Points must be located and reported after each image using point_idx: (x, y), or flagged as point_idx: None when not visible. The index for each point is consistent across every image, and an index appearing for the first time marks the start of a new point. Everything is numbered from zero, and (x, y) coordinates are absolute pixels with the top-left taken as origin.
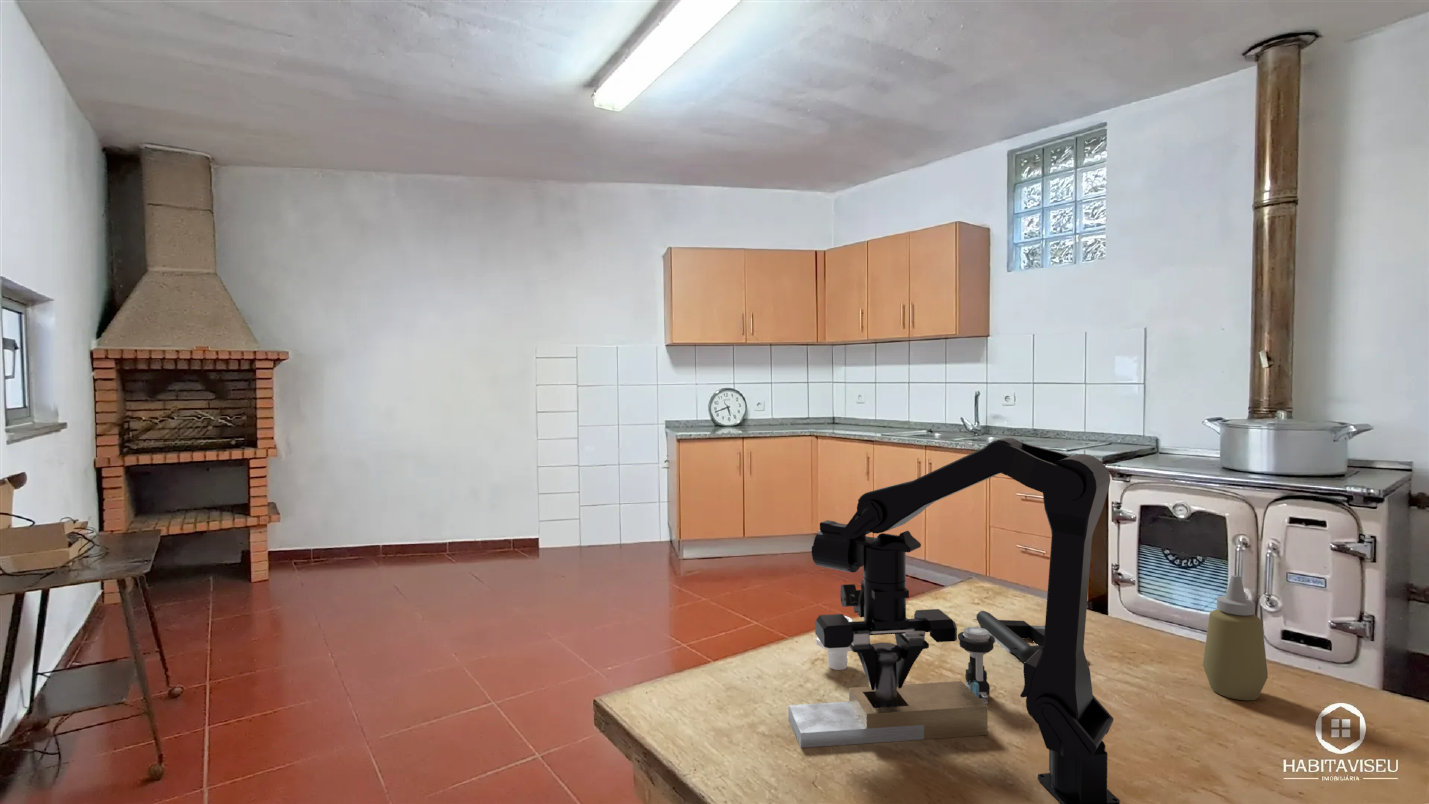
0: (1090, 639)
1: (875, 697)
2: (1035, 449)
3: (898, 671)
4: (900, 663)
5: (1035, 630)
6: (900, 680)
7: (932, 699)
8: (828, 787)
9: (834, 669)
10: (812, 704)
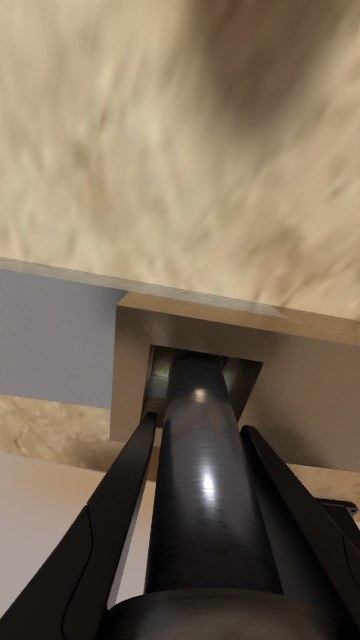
0: None
1: (166, 396)
2: None
3: (260, 508)
4: (282, 577)
5: None
6: None
7: (312, 429)
8: (35, 452)
9: None
10: (10, 275)
